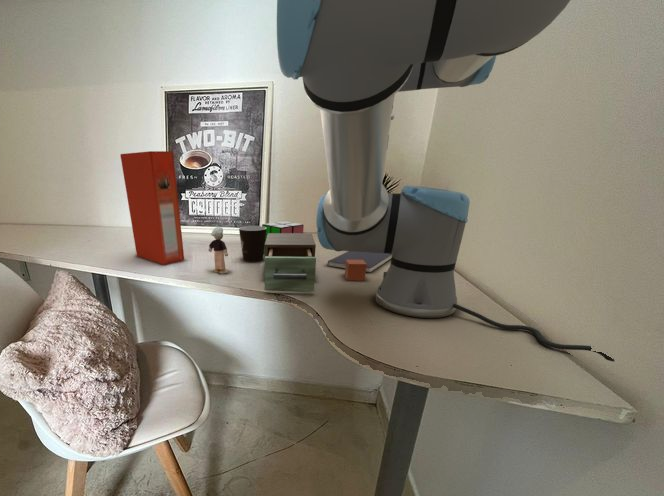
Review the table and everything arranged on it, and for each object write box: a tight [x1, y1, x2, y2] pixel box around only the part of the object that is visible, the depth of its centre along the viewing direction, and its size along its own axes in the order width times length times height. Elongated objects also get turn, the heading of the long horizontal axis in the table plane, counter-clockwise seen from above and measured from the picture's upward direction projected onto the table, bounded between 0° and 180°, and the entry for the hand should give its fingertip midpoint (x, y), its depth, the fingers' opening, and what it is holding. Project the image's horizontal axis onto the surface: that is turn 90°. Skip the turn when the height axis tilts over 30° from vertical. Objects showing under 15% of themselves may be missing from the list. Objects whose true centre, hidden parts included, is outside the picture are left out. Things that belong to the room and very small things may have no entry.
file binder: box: [119, 150, 185, 266], centre depth 105 cm, size 8×17×32 cm, turn 44°
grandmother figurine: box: [208, 226, 229, 275], centre depth 94 cm, size 8×4×13 cm, turn 56°
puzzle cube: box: [261, 220, 304, 255], centre depth 112 cm, size 10×10×10 cm
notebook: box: [327, 251, 392, 274], centre depth 103 cm, size 13×2×21 cm
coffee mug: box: [238, 225, 267, 263], centre depth 107 cm, size 12×9×10 cm
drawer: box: [264, 248, 317, 292], centre depth 80 cm, size 20×11×8 cm, turn 173°
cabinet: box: [264, 232, 317, 257], centre depth 92 cm, size 16×13×10 cm
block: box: [344, 260, 367, 282], centre depth 87 cm, size 4×4×4 cm
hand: (360, 229), depth 83 cm, fingers open, 13 cm apart
